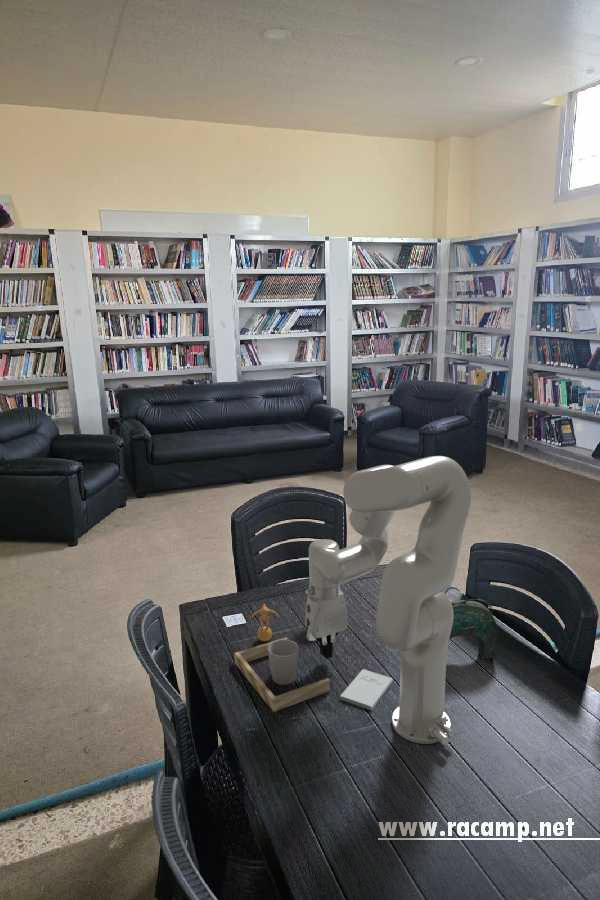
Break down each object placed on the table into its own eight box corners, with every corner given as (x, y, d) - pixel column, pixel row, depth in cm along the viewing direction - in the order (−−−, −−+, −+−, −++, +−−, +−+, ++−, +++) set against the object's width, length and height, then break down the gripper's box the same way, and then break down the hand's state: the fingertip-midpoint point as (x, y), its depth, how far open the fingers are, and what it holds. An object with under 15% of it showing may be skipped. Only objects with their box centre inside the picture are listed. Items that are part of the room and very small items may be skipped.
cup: (268, 689, 149) (267, 657, 147) (267, 664, 158) (267, 635, 156) (300, 687, 149) (300, 655, 147) (297, 663, 159) (297, 633, 157)
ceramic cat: (420, 665, 157) (423, 592, 153) (415, 650, 164) (417, 581, 159) (498, 662, 158) (503, 590, 153) (489, 648, 164) (494, 579, 159)
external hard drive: (339, 701, 145) (362, 673, 155) (372, 713, 141) (392, 683, 151) (339, 695, 144) (362, 668, 155) (372, 706, 140) (393, 677, 151)
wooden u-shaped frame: (329, 691, 147) (329, 680, 147) (273, 711, 140) (273, 700, 140) (286, 647, 166) (286, 637, 165) (234, 663, 159) (234, 652, 158)
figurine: (279, 635, 172) (278, 596, 169) (281, 647, 166) (280, 606, 163) (249, 637, 171) (247, 598, 168) (250, 649, 165) (248, 608, 162)
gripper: (306, 602, 147) (308, 671, 151) (358, 587, 154) (359, 654, 158) (291, 590, 154) (293, 657, 158) (341, 576, 161) (343, 641, 165)
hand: (326, 655), depth 158 cm, fingers closed
